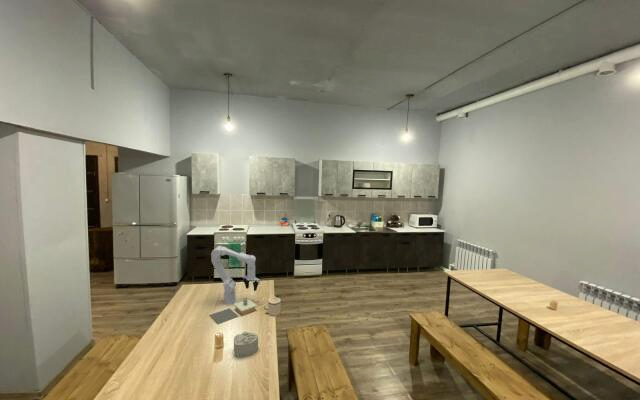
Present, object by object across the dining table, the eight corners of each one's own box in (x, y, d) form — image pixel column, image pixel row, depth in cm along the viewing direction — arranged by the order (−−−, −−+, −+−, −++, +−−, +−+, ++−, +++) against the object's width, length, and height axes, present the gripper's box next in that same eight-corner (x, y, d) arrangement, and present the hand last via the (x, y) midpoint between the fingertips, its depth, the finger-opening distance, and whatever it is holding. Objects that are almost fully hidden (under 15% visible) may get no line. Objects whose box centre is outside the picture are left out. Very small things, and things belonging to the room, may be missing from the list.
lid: (233, 305, 194) (233, 298, 194) (248, 300, 202) (248, 293, 202) (241, 311, 186) (241, 304, 185) (257, 306, 194) (257, 299, 193)
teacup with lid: (280, 308, 198) (280, 293, 197) (281, 315, 189) (281, 299, 188) (263, 310, 195) (263, 294, 194) (263, 316, 186) (263, 300, 185)
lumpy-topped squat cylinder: (233, 346, 155) (233, 332, 154) (257, 342, 159) (257, 328, 158) (234, 358, 145) (234, 343, 144) (259, 353, 149) (259, 339, 148)
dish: (235, 310, 195) (235, 305, 194) (248, 306, 201) (248, 301, 201) (242, 316, 187) (242, 310, 187) (255, 311, 194) (255, 306, 194)
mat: (208, 315, 186) (208, 315, 186) (229, 308, 196) (229, 308, 196) (217, 325, 175) (217, 324, 175) (239, 317, 185) (239, 316, 185)
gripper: (240, 271, 204) (240, 289, 205) (255, 275, 197) (255, 293, 198) (246, 269, 210) (246, 285, 211) (261, 272, 203) (261, 289, 205)
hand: (251, 289), depth 205 cm, fingers open, 7 cm apart
